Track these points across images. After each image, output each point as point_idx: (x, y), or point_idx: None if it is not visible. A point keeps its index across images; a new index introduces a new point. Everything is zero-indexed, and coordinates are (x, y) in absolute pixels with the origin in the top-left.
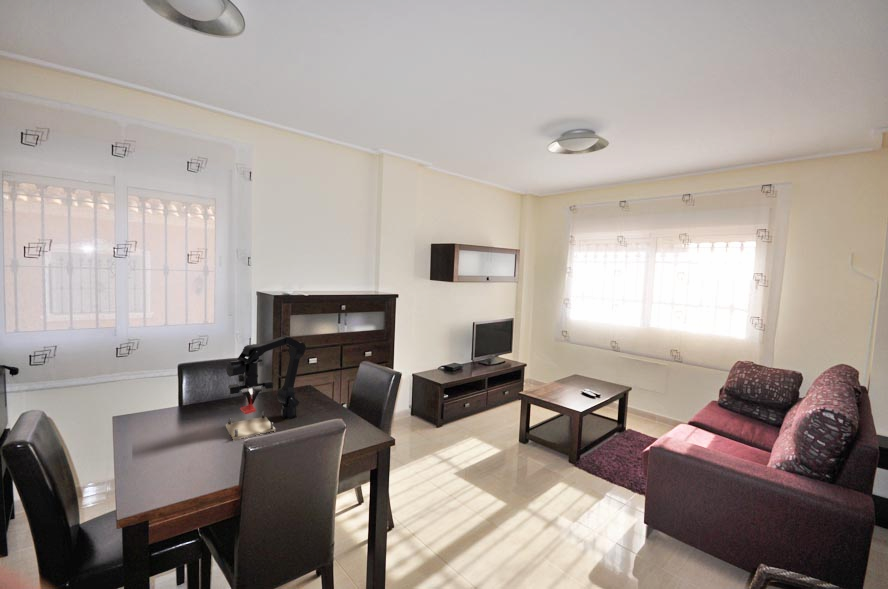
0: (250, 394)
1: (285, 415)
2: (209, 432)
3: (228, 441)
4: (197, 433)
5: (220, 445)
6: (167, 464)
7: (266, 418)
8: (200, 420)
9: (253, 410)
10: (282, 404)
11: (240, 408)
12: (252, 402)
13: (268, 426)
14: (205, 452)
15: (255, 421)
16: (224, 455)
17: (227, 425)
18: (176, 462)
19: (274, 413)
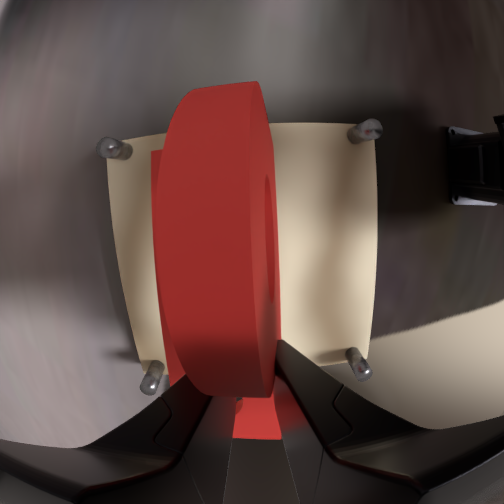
0: (263, 392)
1: (466, 186)
2: (44, 196)
3: (129, 357)
4: (9, 187)
5: (103, 376)
6: (7, 398)
7: (372, 166)
8: (44, 25)
9: (258, 433)
10: (501, 138)
11: (154, 169)
12: (273, 388)
13: (348, 314)
14: (68, 397)
15: (295, 183)
16: None
17: (111, 176)
18: (20, 403)
19: (418, 69)
